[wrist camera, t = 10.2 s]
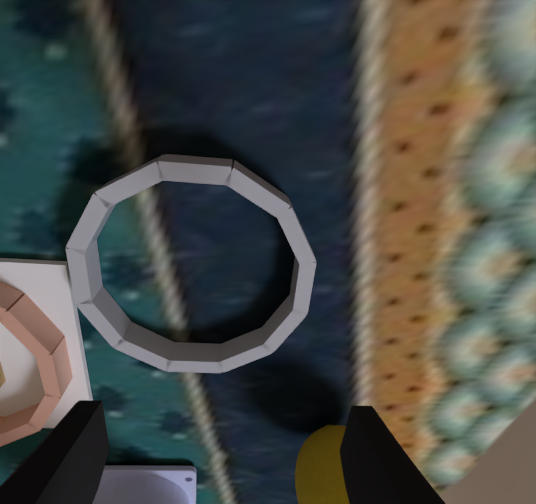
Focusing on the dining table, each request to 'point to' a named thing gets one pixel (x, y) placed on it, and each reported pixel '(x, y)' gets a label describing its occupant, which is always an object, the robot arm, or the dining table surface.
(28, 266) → the card
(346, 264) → the dining table surface
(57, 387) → the ring
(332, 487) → the lemon
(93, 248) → the ring
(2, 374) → the ochre block
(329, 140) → the dining table surface
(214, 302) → the dining table surface
